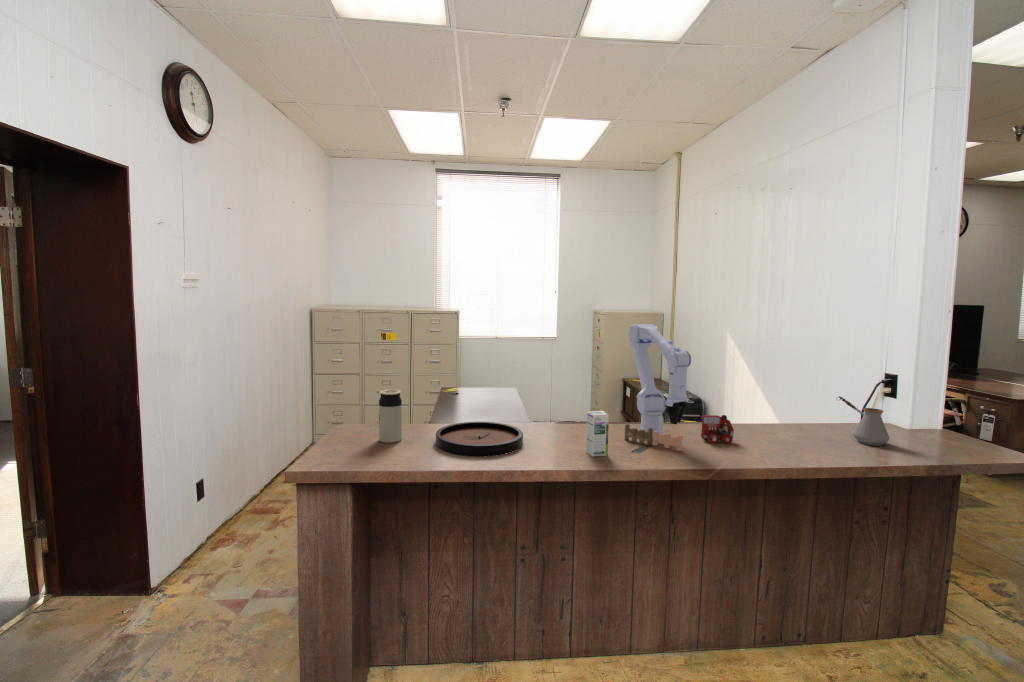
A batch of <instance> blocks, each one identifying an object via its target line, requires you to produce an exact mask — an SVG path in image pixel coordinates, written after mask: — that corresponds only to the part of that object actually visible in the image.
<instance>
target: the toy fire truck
mask: <svg viewBox="0 0 1024 682" xmlns="http://www.w3.org/2000/svg"><path fill="white" fill-rule="evenodd" d="M700 421H701V433H700V437H701V439H702V440H704V441H707V440H708V441H707V442H708V443H709V444H711V445H712V444H715V445H716V444H718V443H719V442H721V443H722V444H724V445H728V444H729V445H731V444H732V442H733V440H734V439H733V438H734V431H735V430H734V427H733V425H732V423H731V421H730V420H729V419H728V417H727V415H725V414H722V415H721V416H720V415H718V414H717V415H715V414H714V415H711V414H708V415H705V414H704V415H703V414H702V415H701V418H700ZM719 440H721V441H719Z"/></svg>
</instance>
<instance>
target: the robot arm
mask: <svg viewBox="0 0 1024 682" xmlns="http://www.w3.org/2000/svg"><path fill="white" fill-rule="evenodd" d="M659 331H660V330H659V327H658V326H657V325H656V324H654V323H651V324H648V323H644V324H643V323H642V324H640V323H639V324H636V323H633V324H631V325H630V327H629V330H628V338H629V342H630V347H632V348H633V355H634V358H635V363H636V368H637V373H638V376H639V382H640V383H639V384H640V387H641V390H640V391H639V392H638V393H637V395H636V408H637V410H638V411H639V413H640V415H641V416H640V417H641V418H640V420H641V421H640V430H641V429H643V430H645V431H647V432H648V428H652V429H653V431H659V434H664V435H665V434H666V433H664V421H665V420H664V416H663V414H664V412H665V411H667V413H668V417H669V421H670V422H669V423H670V424H672V425H677V424H678V423H681V422H682V418H683V416H684V412H685V410H686V407H687V406H689V405H688V402H689V400H690V398H688V394H687V380H688V379H687V377H688V376H687V375H688V368H689V367H690V365H691V364H692V356H691V354H690V352H689V351H688V350H682V349H681V348H680V347H678V346H677V345H676V344H675V343H674V341H673V340H671V339H665V338H664V336H663V335H662V334H661V333H660V332H659ZM653 344H655V345H656V347H658V349H657V350H658V352H659V353H660V354H661V355H662V356H663V357H664V359H666V363H667V366H668V367H667V368H668V369H667V370H668V373H669V380H668V396H667V399H665V397H664V394H663V391H661V390H660V389H658V388H657V387H656V385H655V384H656V383H655V380H654V375H653V369H652V365H651V360H650V355H649V352H648V349H649V348H651V347H652V346H653ZM652 440H653V432H652Z"/></svg>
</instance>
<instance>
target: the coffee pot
mask: <svg viewBox="0 0 1024 682" xmlns="http://www.w3.org/2000/svg"><path fill="white" fill-rule="evenodd" d="M838 398H839V399H838ZM836 401H842V402H844V403H845V404H846V405H848V406H849V407H850V408H852V409H853V410H855V411H856V412H858V414H860V415H861V416H862V418H861V419H860V421H859V422H858V423H857V425H856V427H855V429H854V430H853V432H852V435H853V437H854V438H855V439H856V440H857V442H859V444H860V443H861V444H863V445H869V446H873V447H874V446H878V447H879V446H881V447H882V446H883V444H886V443H888V442H889V441H890V436H889V433H888V431H887V428H886V425H885V423H884V420H883V418H882V413H884V412H885V411H884V410H882V409H879V408H872V407H863V408H862V410H863V411H862V410H860V409H859V408H857V407H856V406H855V405H854V404H852V403H851V402H850V401H848V400H847V399H846V398H844V397H843V396H837V398H836Z"/></svg>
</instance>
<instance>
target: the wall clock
mask: <svg viewBox="0 0 1024 682" xmlns="http://www.w3.org/2000/svg"><path fill="white" fill-rule="evenodd" d="M523 445H524V432H523V431H522V430H521V429H520V428H518V427H516V426H513V425H510V424H507V423H502V422H493V421H465V422H458V423H452V424H447V425H445V426H442V427H440V428H439V429H438V430H437V431H436V433H435V446H436V447H437V449H439V450H440V451H442V452H445V453H448V454H450V455H451V454H452V455H456V456H463V457H473V458H474V457H475V458H478V457H479V458H480V457H481V458H482V457H484V456H487V457H495V456H496V455H498V456H502V455H501V454H504V455H506V454H505V453H508V454H510V453H509V452H511V453H513V452H512V451H514V452H516V451H518V450H520V449H521V448H522V447H523ZM521 446H522V447H521ZM520 447H521V448H520ZM519 448H520V449H519ZM517 449H518V450H517ZM515 450H516V451H515ZM484 458H485V457H484Z"/></svg>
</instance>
